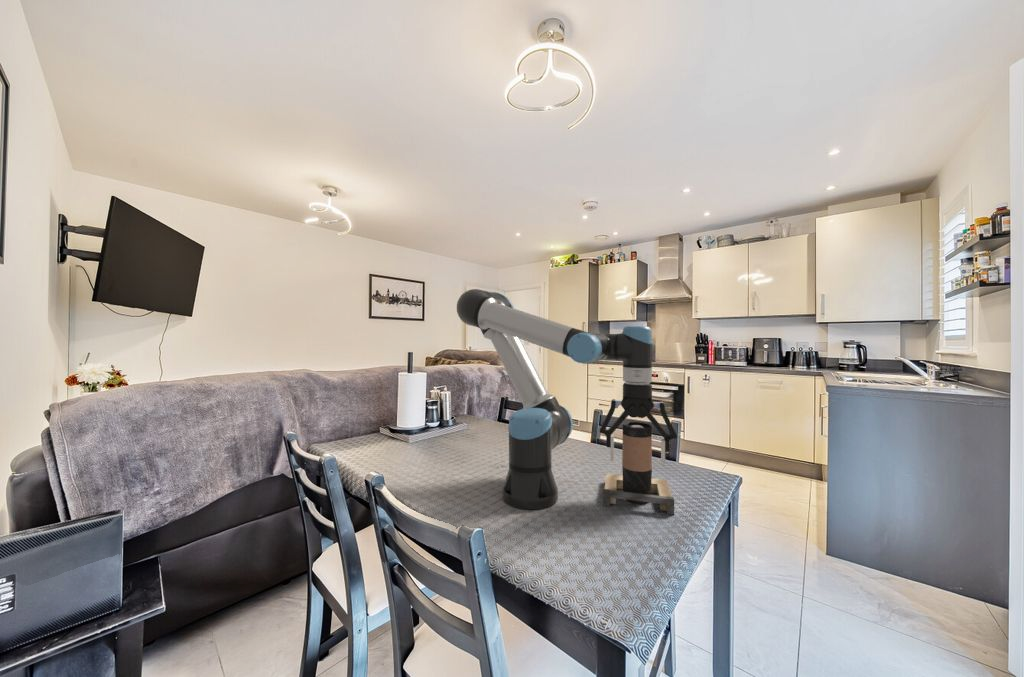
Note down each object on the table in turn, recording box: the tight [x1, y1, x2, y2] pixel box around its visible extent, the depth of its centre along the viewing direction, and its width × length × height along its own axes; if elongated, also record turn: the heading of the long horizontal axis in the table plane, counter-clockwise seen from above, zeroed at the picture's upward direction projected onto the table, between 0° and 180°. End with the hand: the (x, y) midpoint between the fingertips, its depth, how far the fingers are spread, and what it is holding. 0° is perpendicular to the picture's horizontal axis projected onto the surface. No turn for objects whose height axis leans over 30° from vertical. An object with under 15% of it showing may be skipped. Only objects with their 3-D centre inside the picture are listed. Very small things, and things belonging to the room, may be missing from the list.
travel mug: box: [621, 421, 653, 505], centre depth 101 cm, size 8×8×20 cm
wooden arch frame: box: [602, 473, 675, 516], centre depth 102 cm, size 17×17×4 cm
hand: (637, 461), depth 101 cm, fingers open, 12 cm apart
